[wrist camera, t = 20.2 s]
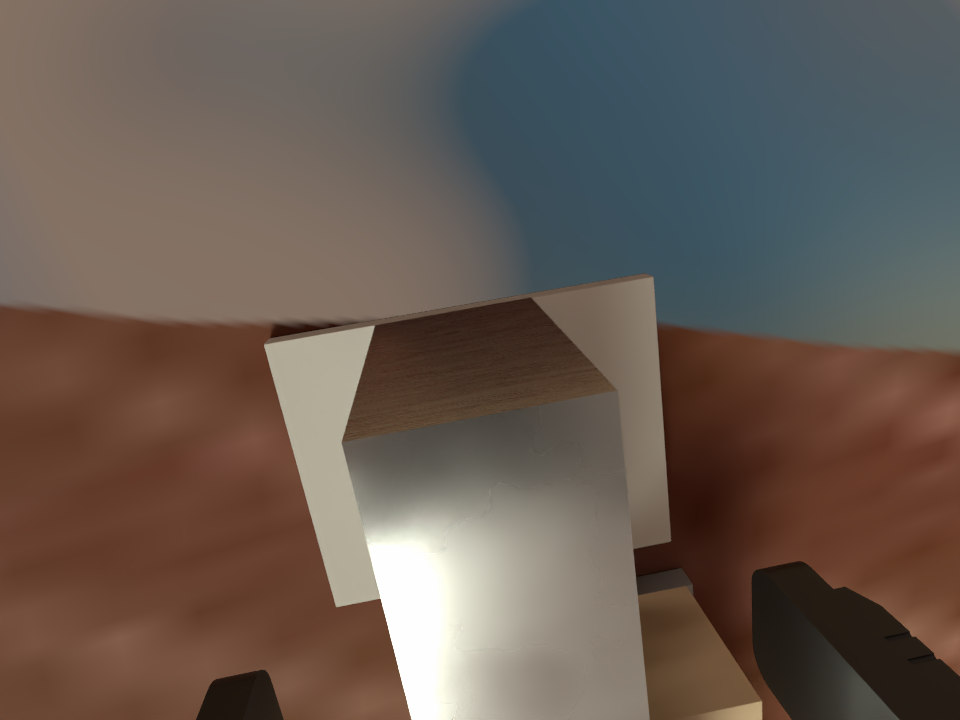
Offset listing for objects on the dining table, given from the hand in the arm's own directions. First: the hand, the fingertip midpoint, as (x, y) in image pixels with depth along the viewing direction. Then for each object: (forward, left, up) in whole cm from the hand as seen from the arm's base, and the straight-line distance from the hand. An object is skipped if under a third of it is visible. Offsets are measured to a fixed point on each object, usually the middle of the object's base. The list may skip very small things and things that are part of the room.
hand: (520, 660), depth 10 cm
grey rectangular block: (0, 0, -7) cm, 7 cm away
